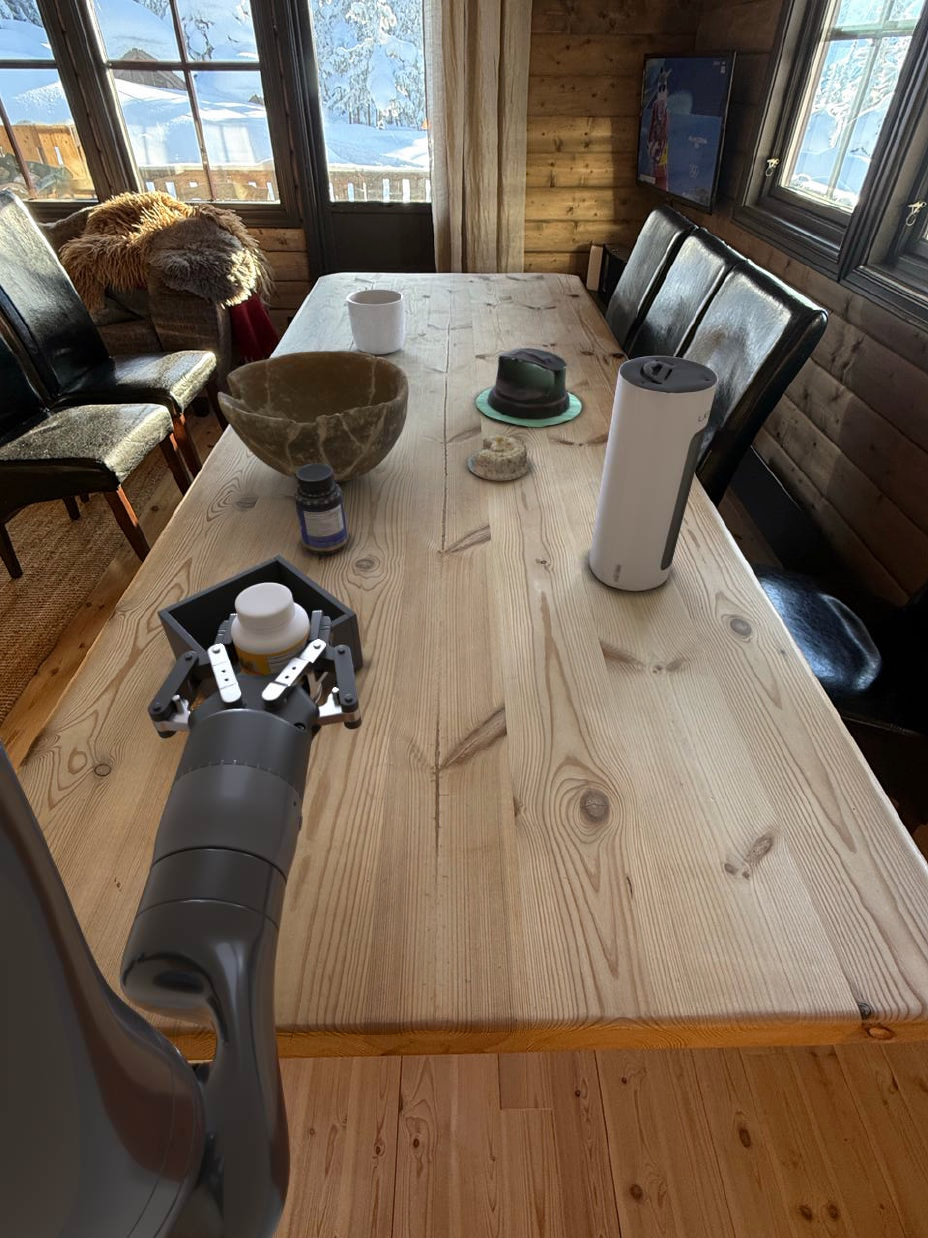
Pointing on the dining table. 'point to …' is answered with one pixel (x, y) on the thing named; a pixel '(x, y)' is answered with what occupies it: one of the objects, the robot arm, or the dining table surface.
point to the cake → (500, 459)
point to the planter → (377, 320)
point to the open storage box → (205, 611)
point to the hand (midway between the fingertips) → (279, 621)
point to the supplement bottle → (269, 630)
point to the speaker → (649, 468)
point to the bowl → (318, 410)
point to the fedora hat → (530, 390)
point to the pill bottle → (320, 510)
